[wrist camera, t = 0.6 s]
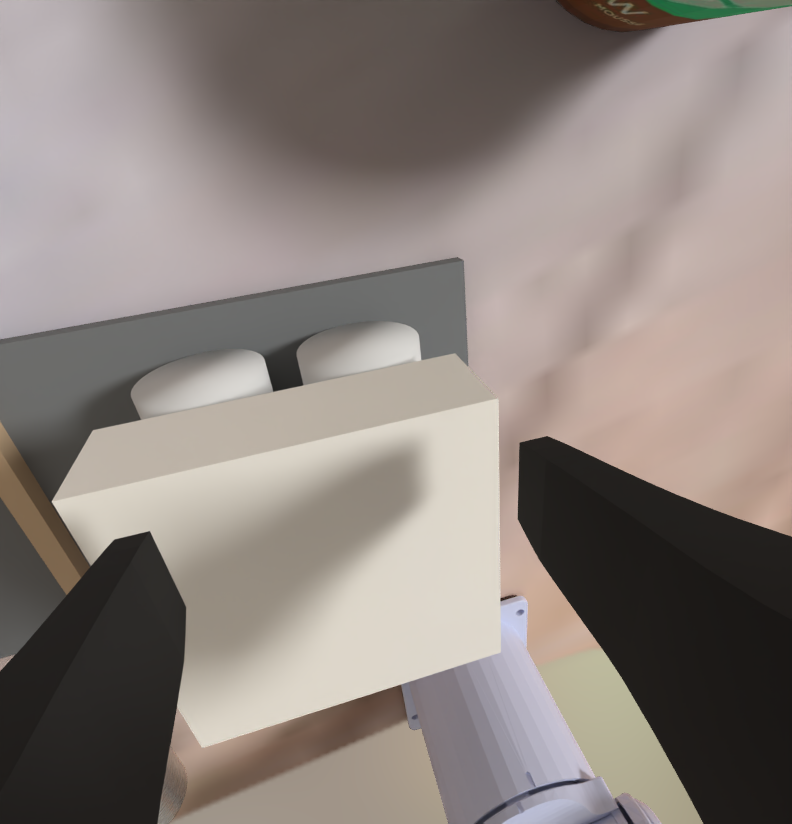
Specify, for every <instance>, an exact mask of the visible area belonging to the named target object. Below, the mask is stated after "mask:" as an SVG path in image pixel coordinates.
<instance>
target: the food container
mask: <svg viewBox="0 0 792 824" xmlns="http://www.w3.org/2000/svg"><path fill="white" fill-rule="evenodd" d="M557 1H558V2H559V3H560V5H561V6H562V7H563V8H564V9H565V10H566V11H568V12H569V13H571V14H572V15H574V16H575V17H577V18H578V19H580V20H581V21H583V22H584V23H587V24H590V25H592V26H595V27H597V28H600V29H603V30H610V31H618V32H628V31H637V30H645V29H652V28H658V27H664V26H670V25H677V24H683V23H689V22H695V21H702V20H708V19H714V18H720V17H726V16H733V15H739V14H745V13H751V12H758V11H764V10H770V9H776V8H783V7H789V6H792V0H557Z"/></svg>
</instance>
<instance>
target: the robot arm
mask: <svg viewBox="0 0 792 824" xmlns="http://www.w3.org/2000/svg"><path fill="white" fill-rule="evenodd" d="M518 520H519V522H520V524H521V526H522V528H523V530H524V532H525V534H526V536H527V538H528V540H529V542H530V544H531V545H532V547H533V549H534V551H535V553H536V554H537V556H538V558H539V560H540V562H541V563H542V564H543V566H544V567H545V569H546V570H547V572H548V573H549V575H550V576H551V577H552V579H553V580H554V582H555V583H556V585H557V586H558V587H559V589H560V590H561V592H562V593H563V595H564V596H565V597H566V599H567V600H568V602H569V603H570V604H571V606H572V607H573V609H574V610H575V611H576V613H577V614H578V616H579V617H580V618H581V620H582V621H583V623H584V624H585V625H586V627H587V628H588V630H589V631H590V632H591V634H592V635H593V637H594V638H595V639H596V641H597V642H598V644H599V645H600V646H601V648H602V649H603V651H604V652H605V653H606V655H607V656H608V658H609V659H610V661H611V662H612V664H613V665H614V667H615V668H616V670H617V671H618V673H619V674H620V676H621V677H622V679H623V681H624V682H625V684H626V685H627V687H628V689H629V691H630V692H631V694H632V696H633V698H634V699H635V701H636V703H637V704H638V706H639V708H640V710H641V711H642V713H643V714H644V716H645V718H646V720H647V721H648V723H649V725H650V726H651V728H652V730H653V732H654V733H655V735H656V737H657V739H658V741H659V743H660V744H661V746H662V748H663V750H664V752H665V753H666V755H667V757H668V759H669V761H670V762H671V764H672V766H673V768H674V769H675V771H676V773H677V775H678V777H679V779H680V780H681V782H682V784H683V786H684V788H685V789H686V791H687V793H688V795H689V797H690V799H691V801H692V802H693V805H694V806H695V808H696V810H697V812H698V814H699V816H700V818H701V820H702V822H703V824H792V537H791V536H788V535H785V534H782V533H779V532H776V531H773V530H770V529H767V528H764V527H761V526H758V525H755V524H752V523H749V522H746V521H743V520H740V519H737V518H735V517H732V516H729V515H727V514H724V513H721V512H718V511H716V510H713V509H711V508H708V507H706V506H703V505H701V504H698V503H696V502H693V501H691V500H688V499H686V498H684V497H681V496H679V495H676V494H674V493H671V492H669V491H667V490H664V489H662V488H660V487H658V486H655V485H653V484H651V483H648V482H646V481H644V480H642V479H640V478H637V477H635V476H633V475H631V474H629V473H626V472H624V471H622V470H620V469H618V468H616V467H614V466H611V465H609V464H607V463H605V462H603V461H601V460H599V459H597V458H595V457H592V456H590V455H588V454H586V453H584V452H582V451H580V450H578V449H575V448H573V447H571V446H569V445H567V444H565V443H562V442H560V441H558V440H555V439H553V438H550V437H548V436H546V437H542V438H538V439H533V440H529V441H525V442H521V443H520V450H519V490H518ZM500 606H501V653H498V654H494V655H491V656H488V657H485V658H482V659H479V660H476V661H473V662H469V663H466V664H463V665H460V666H457V667H454V668H451V669H448V670H444V671H441V672H438V673H435V674H432V675H429V676H426V677H423V678H419V679H416V680H413V681H410V682H407V683H404V684H401V687H402V693H403V698H404V703H405V709H406V714H407V719H408V724H409V728H410V729H412V730H417V729H420V728H421V729H422V732H423V736H424V739H425V743H426V746H427V750H428V753H429V757H430V761H431V764H432V768H433V771H434V775H435V778H436V782H437V785H438V789H439V792H440V796H441V799H442V802H443V806H444V810H445V813H446V817H447V820H448V824H662V823H661V822H660V821H659V819H658V818H657V816H656V815H655V814H654V812H653V811H652V810H651V809H650V808H649V807H648V806H647V805H646V804H645V803H643V802H641V801H639V800H637V799H634V798H632V796H631V795H629V794H628V793H622V794H621V795H620V796H618V797H616V798H615V800H614V798H613V796H612V795H611V793H610V791H609V789H608V787H607V786H606V784H605V782H604V780H603V778H602V777H600V776H599V777H595V775H594V774H593V772H592V770H591V768H590V766H589V764H588V763H587V761H586V759H585V757H584V755H583V753H582V751H581V749H580V748H579V746H578V744H577V742H576V740H575V738H574V736H573V735H572V733H571V731H570V729H569V727H568V726H567V723H566V722H565V720H564V718H563V716H562V714H561V712H560V710H559V709H558V707H557V705H556V703H555V702H554V699H553V697H552V696H551V694H550V692H549V690H548V688H547V686H546V685H545V683H544V681H543V679H542V677H541V675H540V673H539V671H538V670H537V668H536V666H535V664H534V662H533V660H532V658H531V657H530V655H529V653H528V651H527V649H526V643H527V612H528V603H527V601H526V599H525V597H523V596H516V597H513V598H510V599H506V600H503V601H500ZM185 636H186V605H185V603H184V601H183V599H182V597H181V595H180V593H179V591H178V589H177V587H176V585H175V582H174V580H173V578H172V576H171V574H170V572H169V570H168V568H167V566H166V564H165V562H164V559H163V557H162V555H161V553H160V551H159V549H158V547H157V545H156V543H155V541H154V539H153V536H152V534H151V532H150V531H148V532H144V533H139V534H135V535H131V536H127V537H123V538H119V539H114V540H113V541H112V543H111V544H110V545H109V546H108V547H107V548H106V549H105V550H104V551H103V553H102V554H101V555H100V556H99V557H98V558H97V560H96V561H95V562H94V563H93V564H92V565H91V567H90V568H89V569H88V570H87V571H86V573H85V574H84V575H83V576H82V577H81V579H80V580H79V581H78V582H77V583H76V585H75V586H74V587H73V588H72V589H71V591H70V592H69V593H68V594H67V595H66V597H65V598H64V599H63V600H62V601H61V603H60V604H59V605H58V606H57V607H56V608H55V610H54V611H53V612H52V613H51V614H50V615H49V617H48V618H47V619H46V620H45V621H44V622H43V624H42V625H41V626H40V627H39V628H38V630H37V631H36V632H35V633H34V634H33V635H32V637H31V638H30V639H29V640H28V641H27V642H26V644H25V645H24V646H23V647H22V648H21V649H20V650H19V651H18V653H17V654H16V655H15V656H14V657H13V658H12V659H11V660H10V661H9V662H8V663H7V665H6V666H5V667H4V668H3V669H2V670H1V671H0V824H158V817H159V809H160V802H161V796H162V790H163V784H164V779H165V773H166V767H167V761H168V755H169V750H170V744H171V738H172V732H173V726H174V721H175V715H176V709H177V703H178V697H179V691H180V685H181V679H182V672H183V666H184V655H185Z"/></svg>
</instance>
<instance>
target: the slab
mask: <svg viewBox="0 0 792 824" xmlns="http://www.w3.org/2000/svg"><path fill="white" fill-rule="evenodd" d="M52 503H53V505H54V506H55V508H56V510H57V511H58V513H59V515H60V516H61V518H62V520H63V521H64V523H65V524H66V526H67V528H68V529H69V531H70V533H71V534H72V536H73V538H74V539H75V541H76V542H77V544H78V546H79V547H80V549H81V551H82V552H83V554H84V556H85V557H86V559H87V560H88V562H89V564H90V565H92V564H93V563H94V562H95V561H96V560H97V558H98V557H99V556H100V555H101V554H102V553H103V551H104V550H105V549H106V548H107V547H108V546H109V545H110V544H111V543H112V541H113V540H114V539H119V538H123V537H127V536H131V535H135V534H139V533H144V532H148V531H150V532H151V534H152V536H153V539H154V541H155V543H156V545H157V547H158V549H159V551H160V553H161V555H162V557H163V559H164V562H165V564H166V566H167V568H168V570H169V572H170V574H171V576H172V578H173V580H174V582H175V585H176V587H177V589H178V591H179V593H180V595H181V597H182V599H183V601H184V603H185V605H186V636H185V655H184V666H183V672H182V679H181V685H180V691H179V697H178V703H177V708H178V709H179V711H180V712H181V714H182V716H183V717H184V719H185V721H186V722H187V724H188V726H189V727H190V729H191V730H192V732H193V734H194V735H195V737H196V739H197V740H198V742H199V744H200V745H201V747H202V748H204V747H207V746H210V745H213V744H217V743H220V742H223V741H226V740H229V739H232V738H235V737H238V736H242V735H245V734H248V733H251V732H254V731H257V730H260V729H263V728H267V727H270V726H273V725H276V724H279V723H282V722H285V721H288V720H292V719H295V718H298V717H301V716H304V715H307V714H310V713H313V712H316V711H320V710H323V709H326V708H329V707H332V706H335V705H338V704H341V703H345V702H348V701H351V700H354V699H357V698H360V697H363V696H366V695H370V694H373V693H376V692H379V691H382V690H385V689H388V688H391V687H395V686H398V685H401V684H404V683H407V682H410V681H413V680H416V679H419V678H423V677H426V676H429V675H432V674H435V673H438V672H441V671H444V670H448V669H451V668H454V667H457V666H460V665H463V664H466V663H469V662H473V661H476V660H479V659H482V658H485V657H488V656H491V655H494V654H498V653H501V606H500V506H499V406H498V397H497V396H496V395H495V394H494V393H493V392H492V391H491V390H490V389H489V388H488V387H487V386H486V385H485V384H484V383H483V382H482V381H481V380H480V379H479V378H478V377H477V376H476V375H475V374H474V372H473V371H472V370H471V369H470V368H469V367H468V366H467V365H466V364H465V363H464V362H463V361H462V360H461V359H460V358H459V357H458V356H457V355H456V354H455V353H454V354H449V355H445V356H440V357H435V358H430V359H426V360H421V361H416V362H412V363H407V364H402V365H397V366H393V367H388V368H383V369H379V370H374V371H369V372H365V373H360V374H355V375H350V376H346V377H341V378H336V379H332V380H327V381H322V382H318V383H313V384H308V385H303V386H299V387H294V388H289V389H285V390H280V391H275V392H271V393H266V394H261V395H256V396H252V397H247V398H242V399H238V400H233V401H228V402H224V403H219V404H214V405H209V406H205V407H200V408H195V409H191V410H186V411H181V412H177V413H172V414H167V415H162V416H158V417H153V418H148V419H144V420H139V421H134V422H130V423H125V424H120V425H115V426H111V427H106V428H101V429H97V430H93V431H92V433H91V434H90V436H89V438H88V440H87V441H86V443H85V445H84V447H83V448H82V450H81V452H80V453H79V455H78V457H77V459H76V460H75V462H74V464H73V466H72V467H71V469H70V471H69V473H68V474H67V476H66V478H65V479H64V481H63V483H62V485H61V486H60V488H59V490H58V492H57V493H56V495H55V497H54V499H53V500H52Z"/></svg>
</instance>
